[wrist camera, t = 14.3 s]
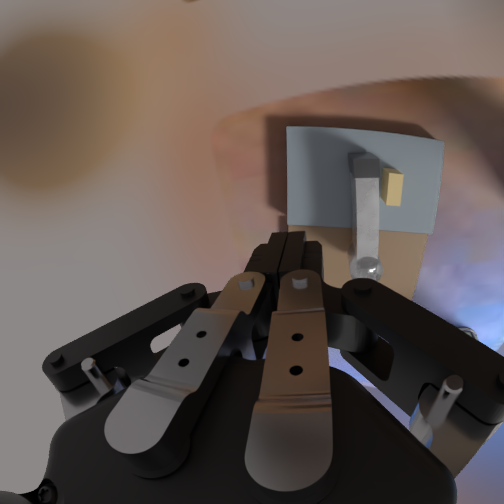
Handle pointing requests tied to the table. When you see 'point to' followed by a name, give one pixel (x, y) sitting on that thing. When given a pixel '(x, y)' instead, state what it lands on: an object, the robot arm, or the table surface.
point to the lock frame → (340, 201)
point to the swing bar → (364, 216)
